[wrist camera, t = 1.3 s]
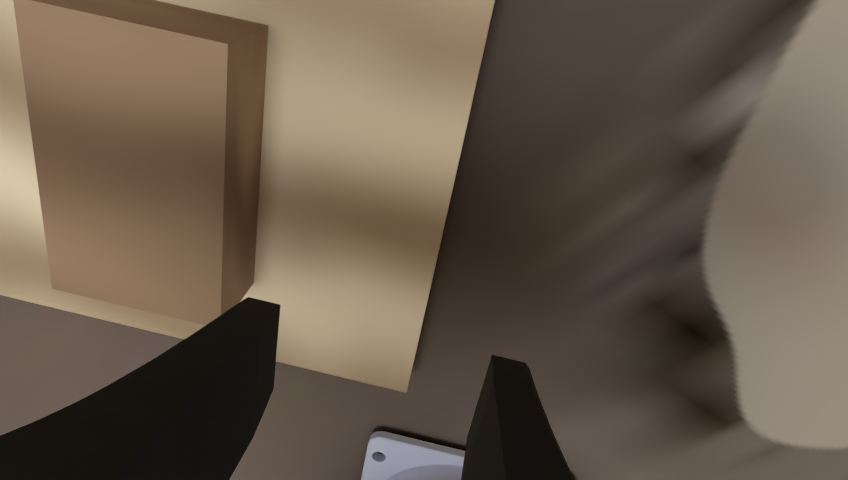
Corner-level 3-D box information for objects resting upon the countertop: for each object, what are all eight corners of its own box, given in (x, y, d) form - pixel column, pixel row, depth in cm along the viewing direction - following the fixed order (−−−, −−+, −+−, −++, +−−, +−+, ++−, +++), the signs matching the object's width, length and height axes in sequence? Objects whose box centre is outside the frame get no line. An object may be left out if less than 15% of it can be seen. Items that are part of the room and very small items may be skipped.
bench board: (412, 370, 22) (406, 393, 21) (-221, 218, 23) (-257, 232, 22) (509, -61, 15) (507, -58, 14) (-394, -252, 16) (-458, -263, 15)
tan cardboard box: (253, 282, 20) (220, 329, 18) (103, 247, 20) (51, 288, 18) (268, 25, 16) (228, 44, 14) (81, -16, 16) (12, -4, 14)
